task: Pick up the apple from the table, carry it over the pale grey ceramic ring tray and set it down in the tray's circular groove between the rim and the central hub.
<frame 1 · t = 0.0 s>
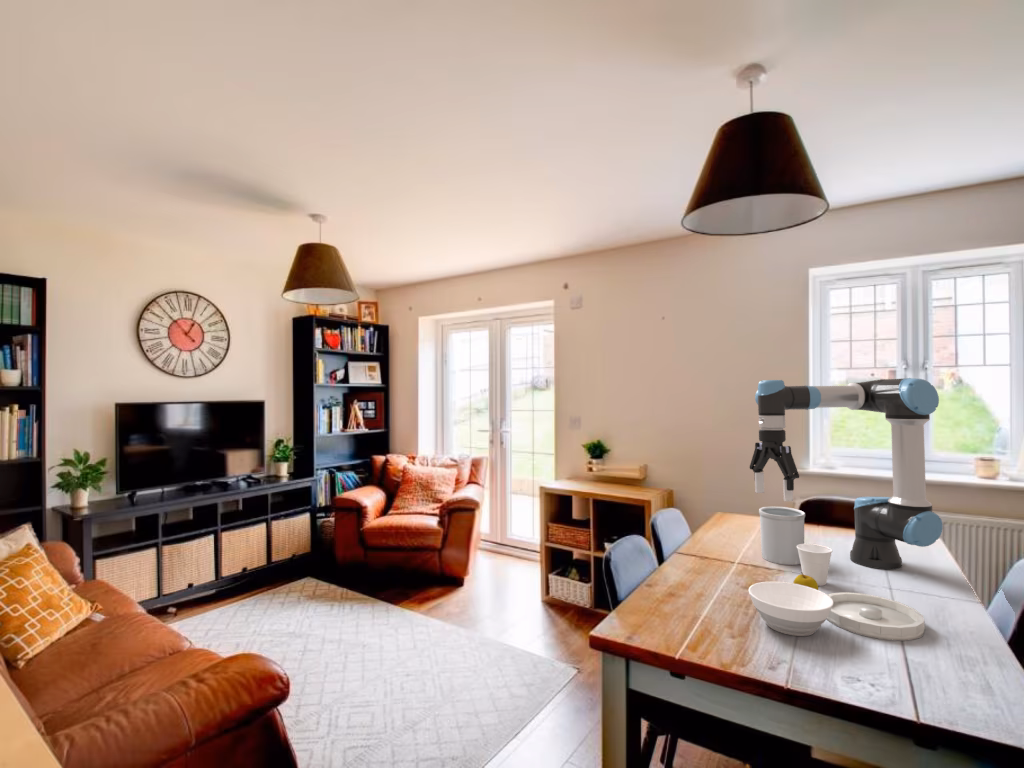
hand: (773, 496, 163), 28 cm above the table, fingers open, 13 cm apart
utensil holder: (782, 559, 189), on the table
apple: (806, 601, 151), on the table
cup: (815, 583, 165), on the table
ring tray: (870, 620, 137), on the table
bowl: (790, 627, 134), on the table
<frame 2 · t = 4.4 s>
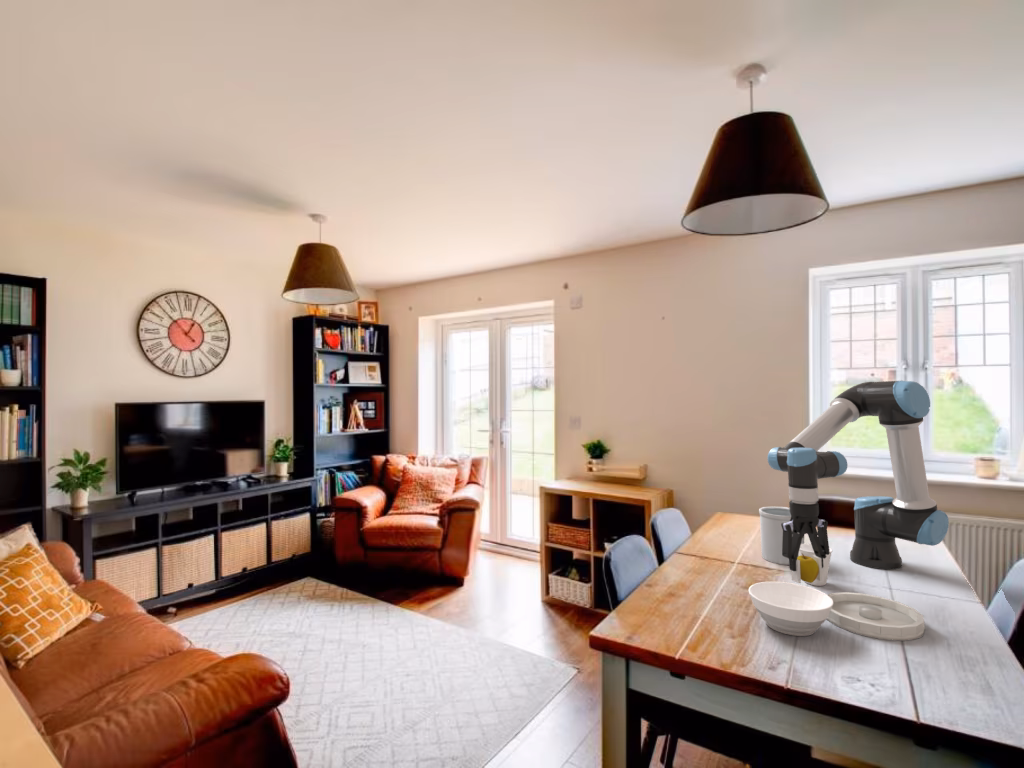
hand: (807, 580, 151), 6 cm above the table, fingers closed on apple, 6 cm apart
apple: (806, 582, 151), point 5 cm above the table, touching gripper
everything else where it was.
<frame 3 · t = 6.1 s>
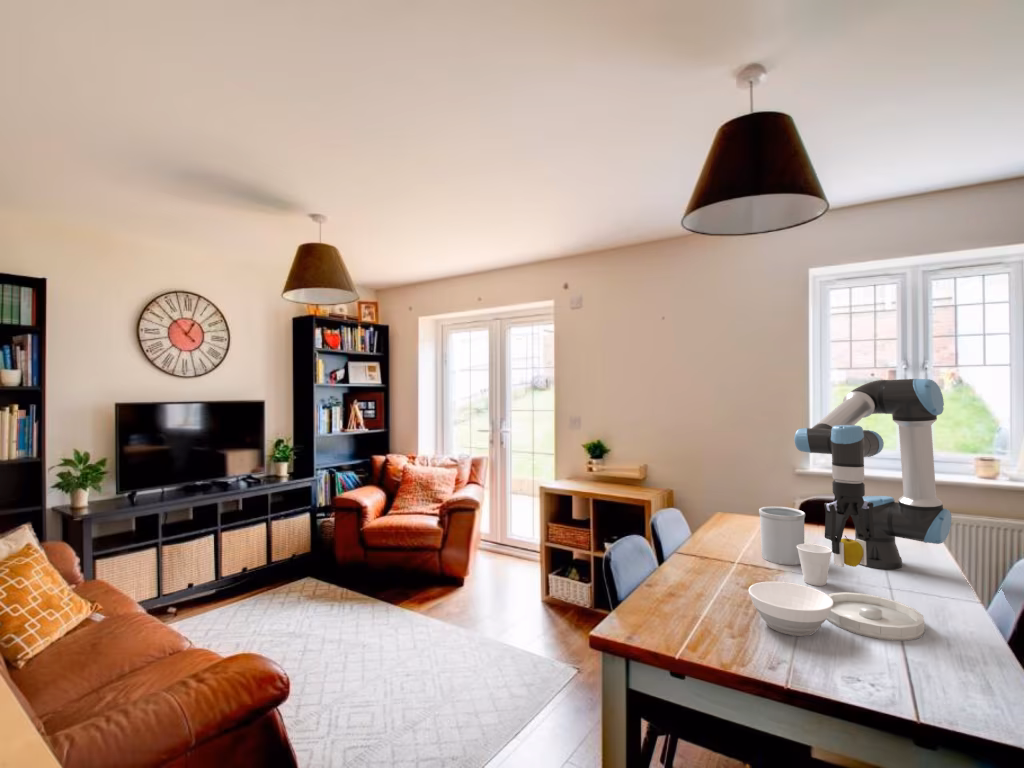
hand: (850, 564, 144), 13 cm above the table, fingers closed on apple, 6 cm apart
apple: (849, 566, 144), point 12 cm above the table, touching gripper
everything else where it was.
when the fingers open (3 cm above the table, at t = 8.2 s): apple drops 1 cm, resting on ring tray.
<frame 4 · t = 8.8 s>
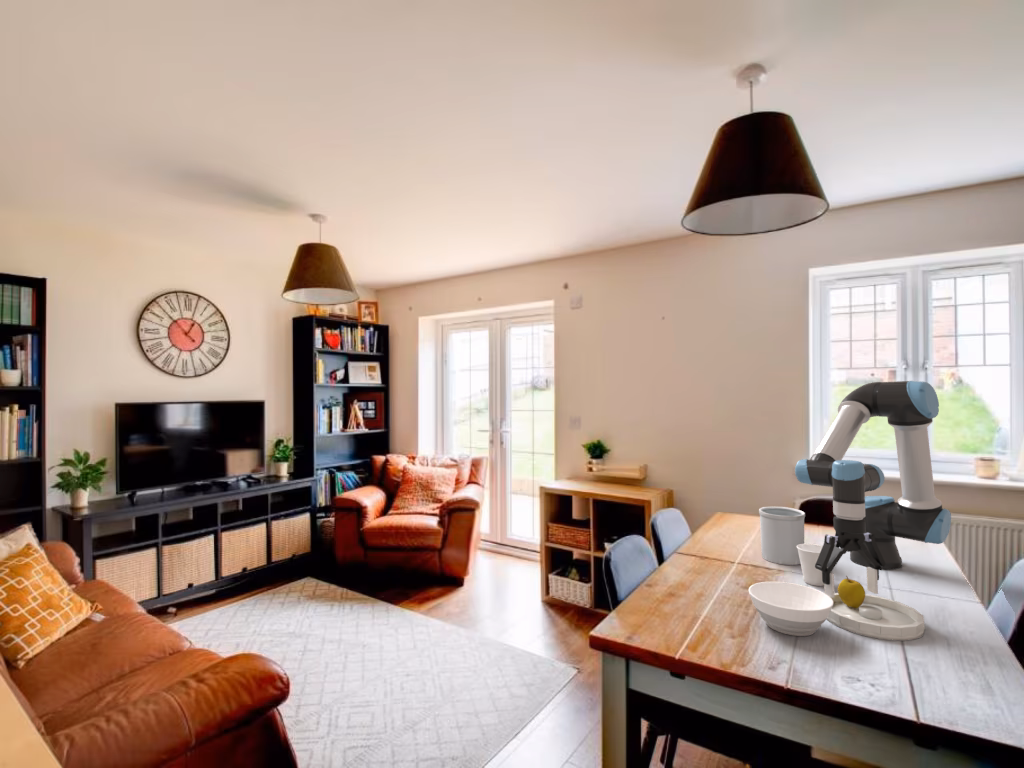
hand: (851, 594, 143), 5 cm above the table, fingers open, 13 cm apart
apple: (851, 607, 143), point 1 cm above the table, touching ring tray
everything else where it was.
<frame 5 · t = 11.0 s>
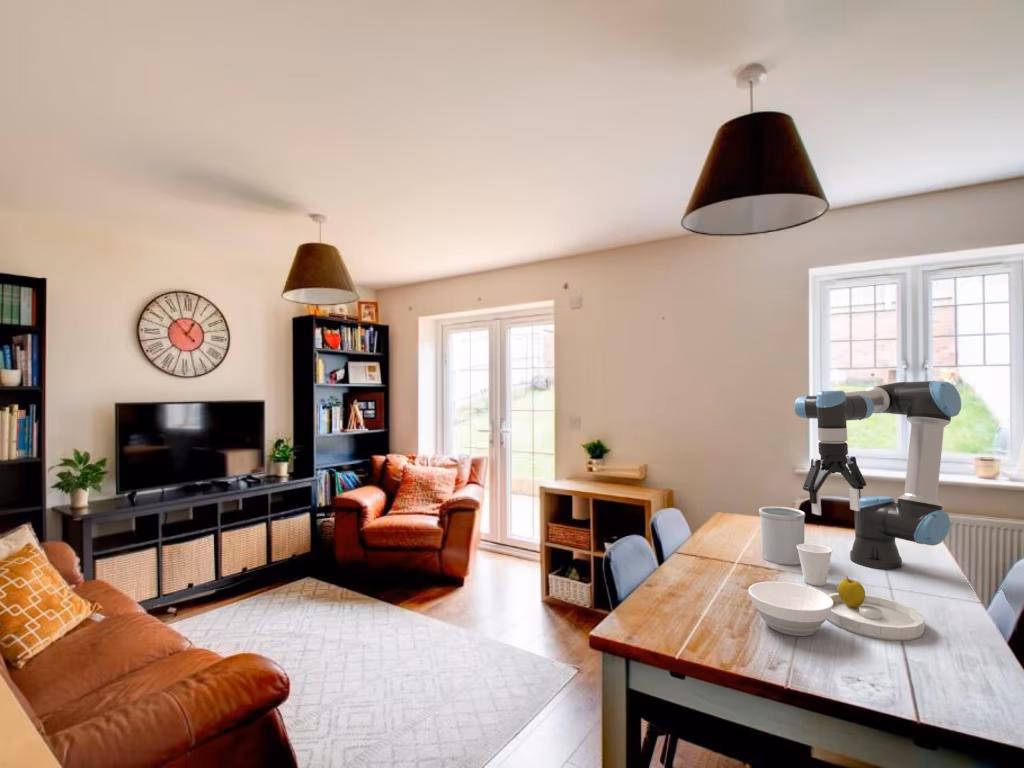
hand: (836, 512, 156), 24 cm above the table, fingers open, 13 cm apart
nothing on the table moved.
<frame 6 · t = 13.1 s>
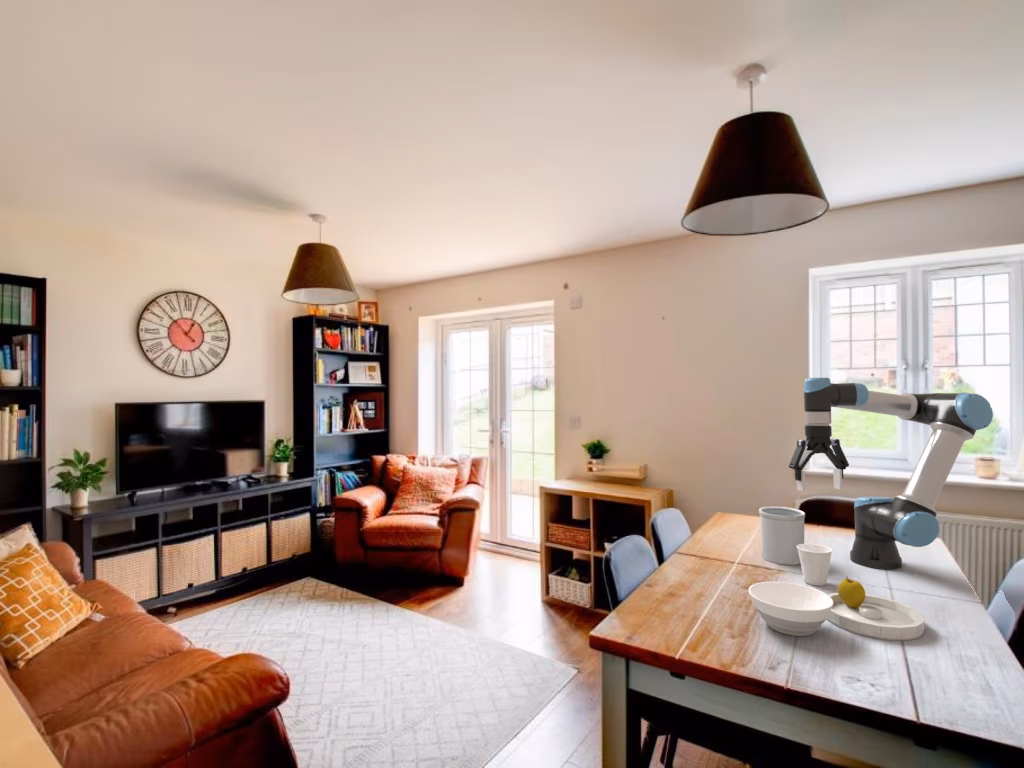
hand: (819, 489, 169), 29 cm above the table, fingers open, 13 cm apart
nothing on the table moved.
at the end: apple inside the target area on the ring tray (0.1 cm from its centre), point 1.0 cm above the ring tray's base; apple 6.3 cm from the ring tray (horizontally); the gripper is holding nothing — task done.
